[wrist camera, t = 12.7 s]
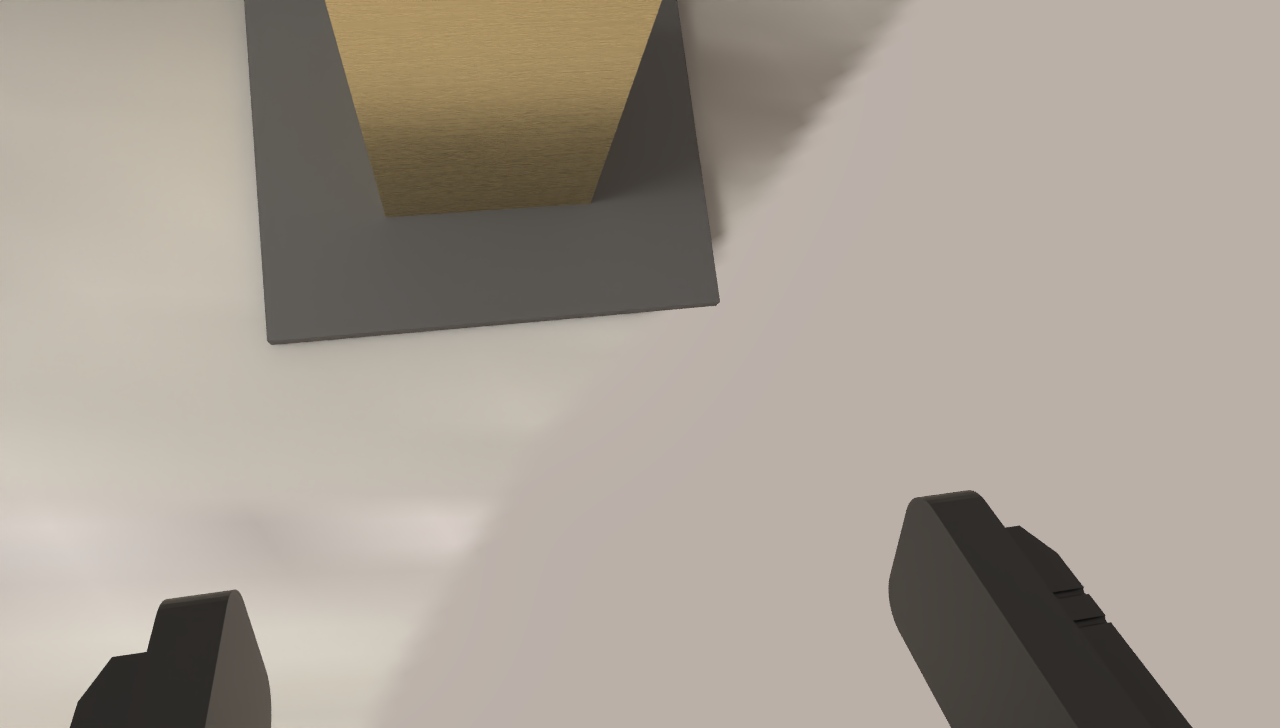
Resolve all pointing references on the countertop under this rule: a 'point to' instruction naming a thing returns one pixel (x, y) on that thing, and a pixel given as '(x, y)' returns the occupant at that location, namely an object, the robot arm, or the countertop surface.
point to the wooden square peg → (489, 96)
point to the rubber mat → (463, 241)
